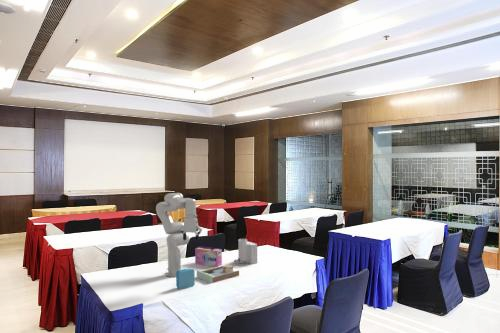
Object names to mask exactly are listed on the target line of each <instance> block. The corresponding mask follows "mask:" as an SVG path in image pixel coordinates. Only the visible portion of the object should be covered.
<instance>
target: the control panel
mask: <svg viewBox="0 0 500 333" xmlns="http://www.w3.org/2000/svg"><path fill="white" fill-rule="evenodd" d="M237 241H238V245H237V246H238V248H237V249H238V258H237V259H234V260H233V262H235V263H236V262H238V263H239V264H250V265H252V264H254V265H255V264H258V243H255V242H251V241H248V239H247V238H239V239H238V240H237Z"/></svg>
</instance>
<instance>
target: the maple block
mask: <svg viewBox="0 0 500 333" xmlns="http://www.w3.org/2000/svg"><path fill="white" fill-rule="evenodd" d="M222 266H223V271H224V272H231V271H234V265H231V264H227V265H222Z"/></svg>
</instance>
